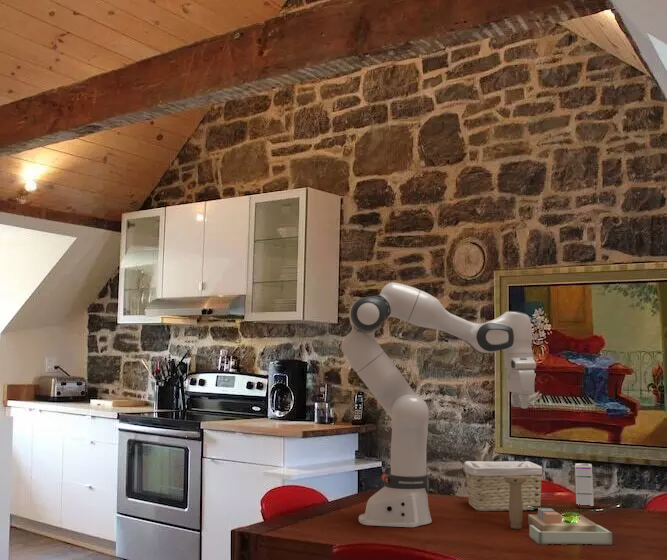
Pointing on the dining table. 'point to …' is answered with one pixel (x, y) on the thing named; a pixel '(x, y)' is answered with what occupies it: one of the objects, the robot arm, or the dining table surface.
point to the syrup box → (584, 484)
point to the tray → (572, 537)
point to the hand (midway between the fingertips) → (520, 407)
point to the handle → (515, 500)
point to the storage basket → (501, 484)
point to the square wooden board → (562, 525)
